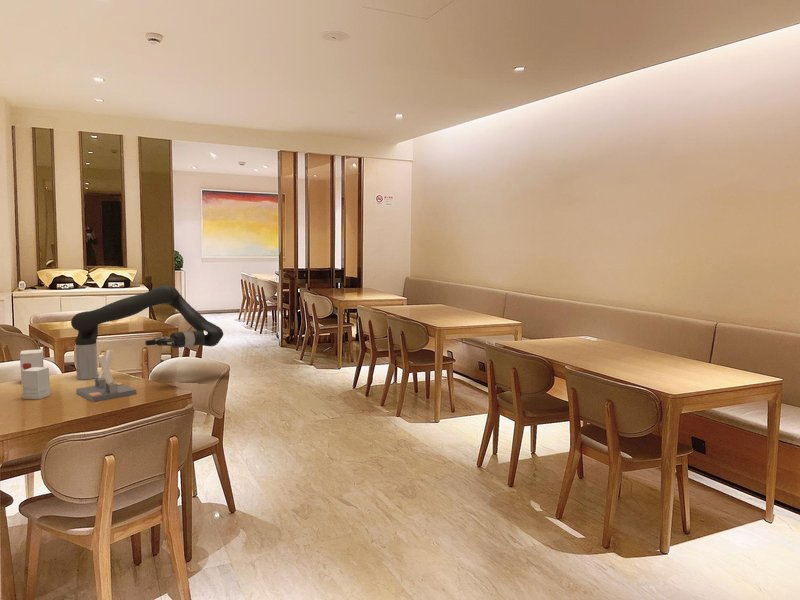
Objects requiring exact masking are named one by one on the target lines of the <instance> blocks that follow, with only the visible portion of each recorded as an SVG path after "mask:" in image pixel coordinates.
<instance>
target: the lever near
mask: <svg viewBox="0 0 800 600" xmlns="http://www.w3.org/2000/svg"><path fill="white" fill-rule="evenodd" d="M105 356H106V354H103V353H102V354H100V355H97V360H98V362H99V365H100V367H101V368H102V371H103V374H104V377H105V380H106V382H107V386H108V387H109V384H114V383H115V382H114V377H113V375H112V373H111V372H112V371H111V369H110V366H108V363H107V360H106V357H105ZM101 368H100V369H101Z"/></svg>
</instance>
